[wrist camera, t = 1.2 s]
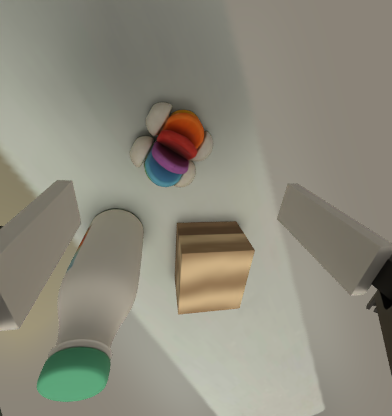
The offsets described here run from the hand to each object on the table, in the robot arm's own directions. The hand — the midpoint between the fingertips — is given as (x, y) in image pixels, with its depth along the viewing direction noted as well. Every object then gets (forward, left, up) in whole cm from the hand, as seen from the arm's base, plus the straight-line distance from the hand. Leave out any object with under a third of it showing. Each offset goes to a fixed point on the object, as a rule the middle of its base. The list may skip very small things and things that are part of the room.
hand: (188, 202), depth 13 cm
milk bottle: (+13, -8, -17) cm, 23 cm away
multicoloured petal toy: (0, 0, -17) cm, 17 cm away
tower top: (+18, +6, -13) cm, 23 cm away
